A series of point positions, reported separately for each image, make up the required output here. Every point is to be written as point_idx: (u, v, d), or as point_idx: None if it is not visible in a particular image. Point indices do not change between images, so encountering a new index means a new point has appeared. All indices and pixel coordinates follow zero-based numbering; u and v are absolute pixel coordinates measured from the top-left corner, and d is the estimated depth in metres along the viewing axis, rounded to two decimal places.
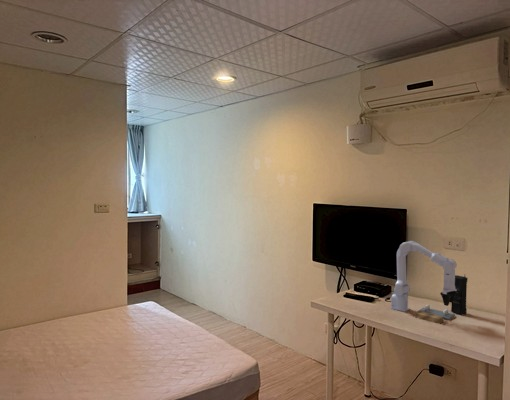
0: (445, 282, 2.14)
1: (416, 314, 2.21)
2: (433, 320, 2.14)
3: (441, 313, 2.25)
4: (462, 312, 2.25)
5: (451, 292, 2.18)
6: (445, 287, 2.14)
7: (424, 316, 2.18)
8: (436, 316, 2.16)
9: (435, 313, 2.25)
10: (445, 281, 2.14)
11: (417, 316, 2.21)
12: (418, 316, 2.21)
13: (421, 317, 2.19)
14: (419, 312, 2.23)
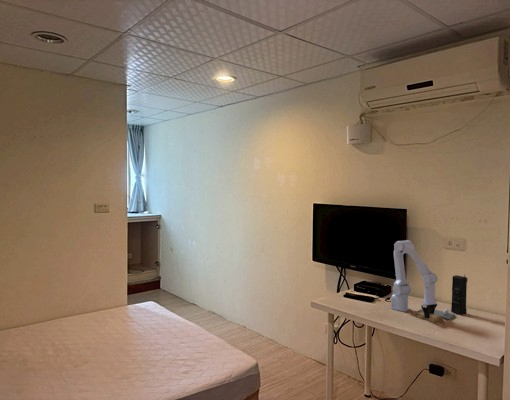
0: (425, 295, 2.17)
1: (416, 314, 2.21)
2: (433, 320, 2.14)
3: (441, 313, 2.25)
4: (462, 312, 2.25)
5: (431, 305, 2.21)
6: (425, 300, 2.17)
7: (424, 316, 2.18)
8: (436, 316, 2.16)
9: (435, 313, 2.25)
10: (425, 294, 2.17)
11: (417, 316, 2.21)
12: (418, 316, 2.21)
13: (421, 317, 2.19)
14: (419, 312, 2.23)
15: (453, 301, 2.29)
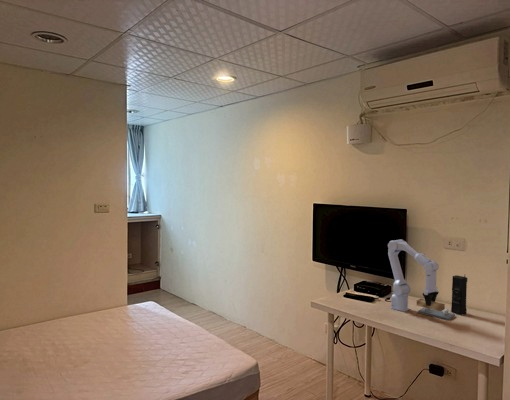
0: (427, 283, 2.18)
1: (417, 302, 2.22)
2: (434, 307, 2.15)
3: (441, 313, 2.25)
4: (462, 312, 2.25)
5: (432, 293, 2.21)
6: (427, 288, 2.18)
7: (425, 304, 2.19)
8: (437, 303, 2.17)
9: (435, 313, 2.25)
10: (427, 282, 2.18)
11: (418, 304, 2.22)
12: (419, 303, 2.21)
13: (422, 304, 2.20)
14: (420, 300, 2.24)
15: (453, 301, 2.29)
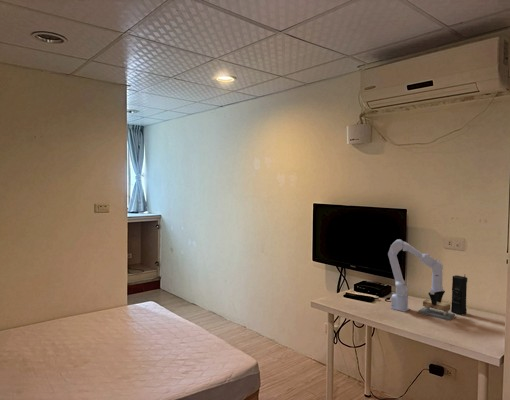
0: (433, 283, 2.25)
1: (424, 302, 2.29)
2: (440, 308, 2.22)
3: (441, 313, 2.25)
4: (462, 312, 2.25)
5: (439, 292, 2.28)
6: (433, 287, 2.25)
7: None
8: (443, 304, 2.23)
9: (435, 313, 2.25)
10: (433, 282, 2.25)
11: (425, 304, 2.28)
12: (426, 304, 2.28)
13: (429, 305, 2.27)
14: (427, 300, 2.30)
15: (453, 301, 2.29)
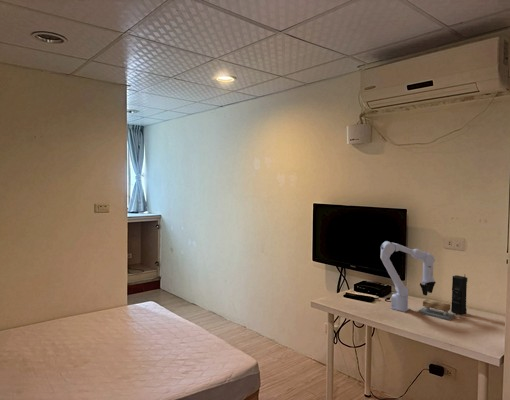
0: (424, 274, 2.32)
1: (424, 302, 2.29)
2: (440, 308, 2.22)
3: (441, 313, 2.25)
4: (462, 312, 2.25)
5: (430, 283, 2.36)
6: (424, 278, 2.32)
7: (432, 304, 2.25)
8: (443, 304, 2.23)
9: (435, 313, 2.25)
10: (424, 273, 2.32)
11: (425, 304, 2.28)
12: (426, 304, 2.28)
13: (429, 305, 2.27)
14: (427, 300, 2.30)
15: (453, 301, 2.29)
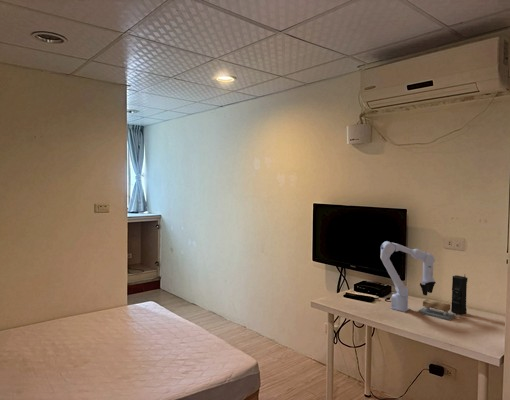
0: (424, 274, 2.32)
1: (424, 302, 2.29)
2: (440, 308, 2.22)
3: (441, 313, 2.25)
4: (462, 312, 2.25)
5: (430, 283, 2.36)
6: (424, 278, 2.32)
7: (432, 304, 2.25)
8: (443, 304, 2.23)
9: (435, 313, 2.25)
10: (424, 273, 2.32)
11: (425, 304, 2.28)
12: (426, 304, 2.28)
13: (429, 305, 2.27)
14: (427, 300, 2.30)
15: (453, 301, 2.29)
